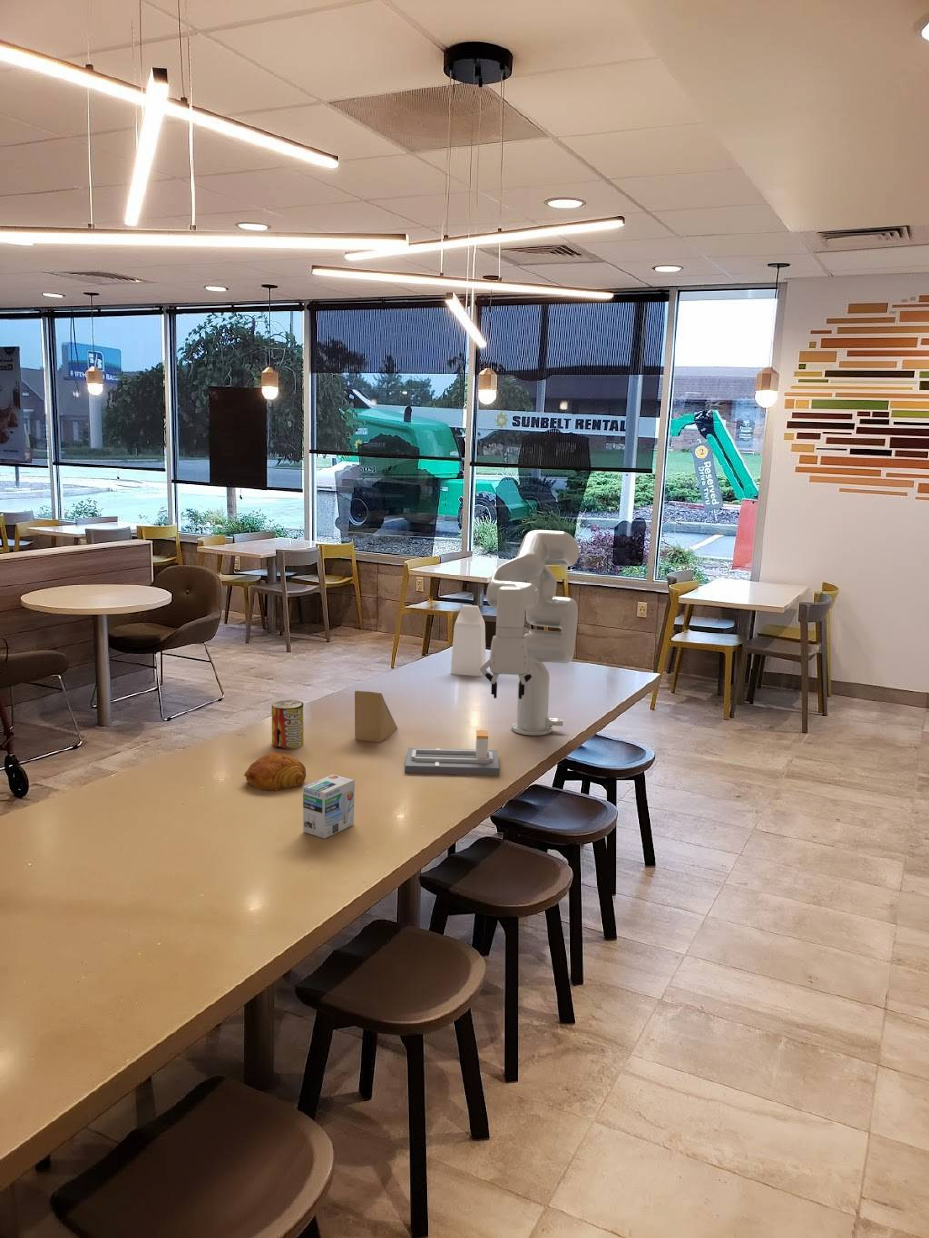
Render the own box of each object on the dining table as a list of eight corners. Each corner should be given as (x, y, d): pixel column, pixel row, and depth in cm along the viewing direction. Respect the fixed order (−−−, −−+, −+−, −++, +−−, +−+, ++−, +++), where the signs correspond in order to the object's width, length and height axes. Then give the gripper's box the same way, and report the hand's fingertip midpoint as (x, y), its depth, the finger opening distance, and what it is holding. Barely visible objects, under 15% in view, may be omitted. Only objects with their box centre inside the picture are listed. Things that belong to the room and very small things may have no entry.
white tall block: (450, 674, 358) (452, 607, 353) (455, 667, 369) (457, 602, 364) (481, 676, 356) (483, 609, 351) (485, 669, 367) (487, 604, 362)
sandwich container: (399, 728, 287) (399, 681, 285) (381, 742, 273) (382, 693, 270) (372, 725, 290) (373, 678, 287) (354, 739, 275) (354, 690, 272)
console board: (496, 756, 263) (496, 746, 262) (498, 775, 248) (499, 764, 247) (407, 754, 262) (408, 744, 262) (404, 772, 248) (405, 762, 247)
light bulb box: (324, 839, 204) (324, 793, 202) (301, 832, 208) (301, 786, 206) (355, 824, 213) (355, 779, 211) (332, 817, 217) (332, 773, 215)
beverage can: (265, 745, 266) (264, 705, 264) (285, 737, 274) (285, 698, 272) (290, 751, 262) (290, 710, 260) (310, 742, 270) (309, 702, 268)
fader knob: (486, 754, 257) (487, 730, 256) (487, 760, 252) (488, 736, 251) (475, 753, 257) (476, 730, 256) (476, 759, 252) (476, 735, 251)
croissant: (282, 775, 249) (280, 746, 249) (316, 783, 238) (314, 752, 237) (234, 786, 239) (232, 756, 239) (267, 795, 228) (265, 763, 227)
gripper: (541, 630, 252) (538, 694, 255) (477, 628, 252) (475, 693, 255) (543, 635, 245) (540, 702, 248) (477, 634, 245) (475, 700, 248)
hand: (507, 696), depth 252 cm, fingers open, 6 cm apart
